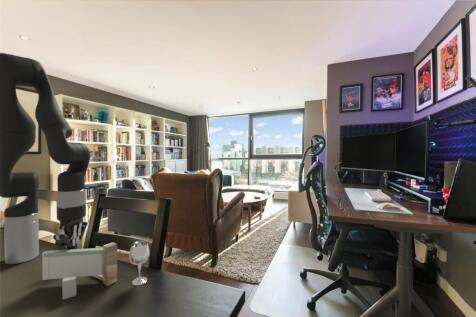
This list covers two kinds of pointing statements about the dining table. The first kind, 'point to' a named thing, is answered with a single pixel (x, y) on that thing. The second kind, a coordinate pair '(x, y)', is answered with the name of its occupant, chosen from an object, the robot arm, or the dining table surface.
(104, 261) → the gate frame
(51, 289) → the dining table surface
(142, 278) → the wineglass
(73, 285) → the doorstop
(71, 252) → the panel
